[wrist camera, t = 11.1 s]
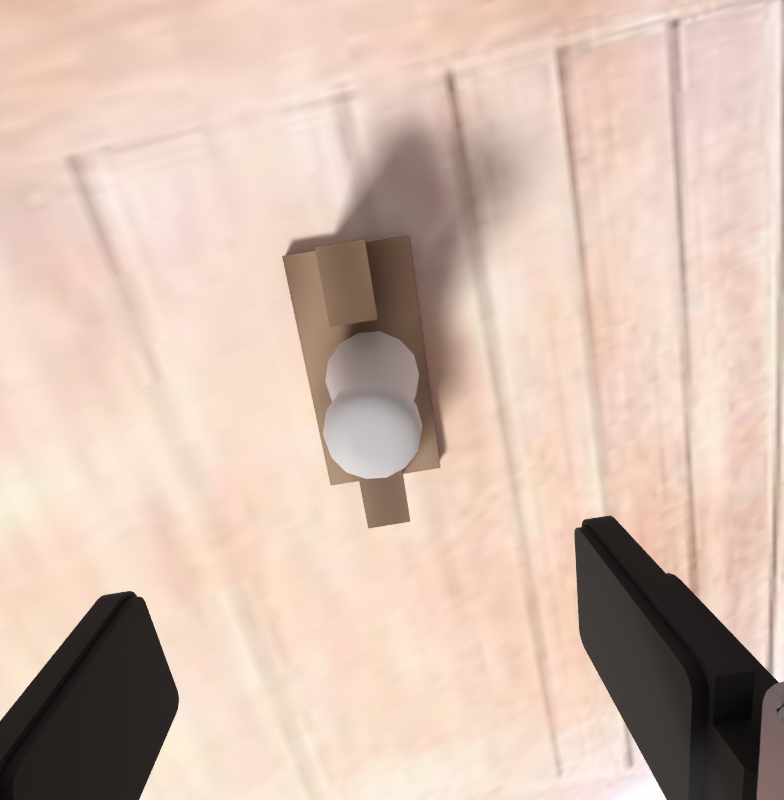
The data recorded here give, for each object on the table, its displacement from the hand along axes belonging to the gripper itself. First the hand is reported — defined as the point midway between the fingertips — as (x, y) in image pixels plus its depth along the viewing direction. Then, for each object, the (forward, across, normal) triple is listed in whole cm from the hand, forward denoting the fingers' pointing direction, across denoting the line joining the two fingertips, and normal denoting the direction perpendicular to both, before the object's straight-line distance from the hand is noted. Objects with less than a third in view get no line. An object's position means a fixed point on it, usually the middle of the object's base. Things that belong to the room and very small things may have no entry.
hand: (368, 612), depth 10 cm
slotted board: (+24, 0, 0) cm, 24 cm away
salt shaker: (+23, 0, 0) cm, 23 cm away
